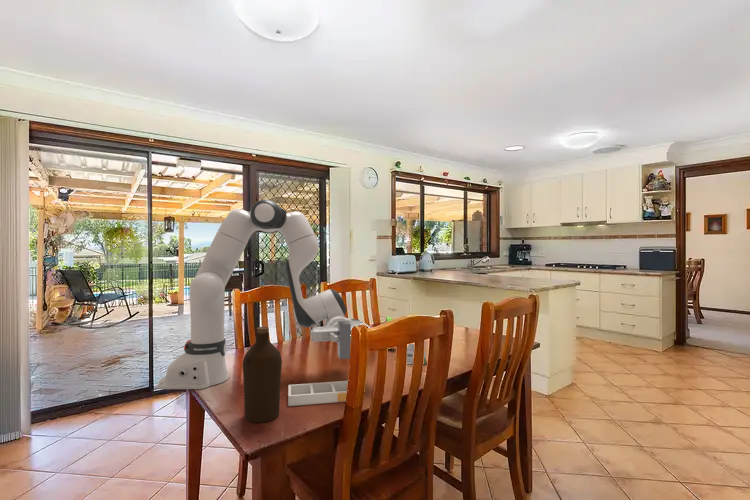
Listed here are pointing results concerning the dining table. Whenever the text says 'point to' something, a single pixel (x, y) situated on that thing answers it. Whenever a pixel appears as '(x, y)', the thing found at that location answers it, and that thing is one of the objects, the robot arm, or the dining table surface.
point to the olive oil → (262, 379)
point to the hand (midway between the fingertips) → (344, 338)
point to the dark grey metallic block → (344, 339)
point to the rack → (317, 393)
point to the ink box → (411, 351)
